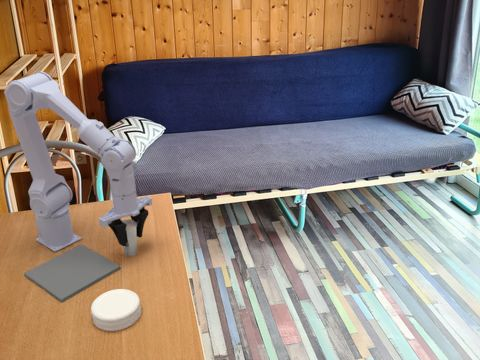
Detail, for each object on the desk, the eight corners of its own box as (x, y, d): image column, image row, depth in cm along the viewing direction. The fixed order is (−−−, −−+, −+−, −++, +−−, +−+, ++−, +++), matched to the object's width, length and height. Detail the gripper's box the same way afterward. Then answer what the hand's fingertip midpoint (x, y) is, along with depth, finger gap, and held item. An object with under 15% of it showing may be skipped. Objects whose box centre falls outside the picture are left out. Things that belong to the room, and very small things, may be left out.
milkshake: (139, 259, 125) (135, 223, 121) (118, 257, 126) (114, 221, 122) (145, 249, 129) (142, 215, 125) (126, 247, 130) (122, 213, 126)
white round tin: (121, 294, 113) (119, 282, 111) (151, 313, 107) (149, 299, 105) (83, 318, 106) (80, 305, 104) (113, 339, 100) (110, 325, 98)
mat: (24, 275, 120) (23, 272, 120) (82, 246, 131) (81, 244, 131) (61, 302, 111) (61, 299, 110) (120, 268, 121) (120, 266, 121)
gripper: (108, 207, 113) (117, 258, 118) (158, 185, 123) (163, 233, 128) (90, 199, 117) (98, 248, 123) (139, 177, 127) (145, 224, 132)
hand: (130, 240), depth 126 cm, fingers closed on milkshake, 4 cm apart
